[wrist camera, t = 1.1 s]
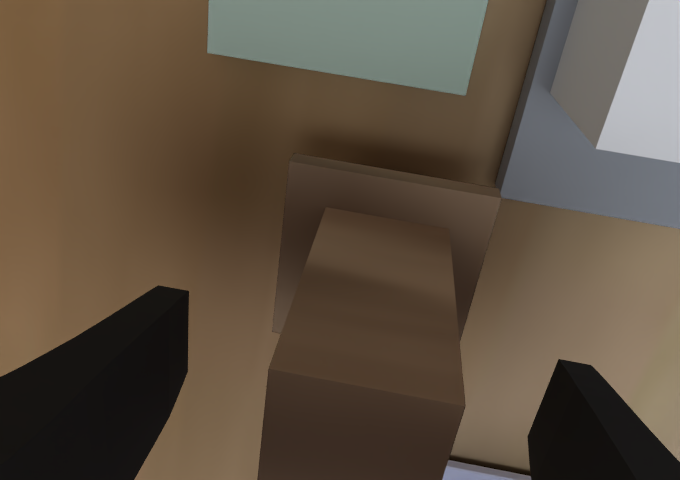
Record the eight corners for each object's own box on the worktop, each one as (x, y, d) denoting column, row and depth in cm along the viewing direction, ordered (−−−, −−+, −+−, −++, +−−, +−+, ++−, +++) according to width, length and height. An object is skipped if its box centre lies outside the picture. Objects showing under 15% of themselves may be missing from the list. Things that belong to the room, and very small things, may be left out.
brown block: (447, 294, 19) (468, 580, 11) (296, 266, 19) (198, 525, 11) (486, 148, 17) (553, 366, 8) (313, 119, 17) (206, 302, 8)
